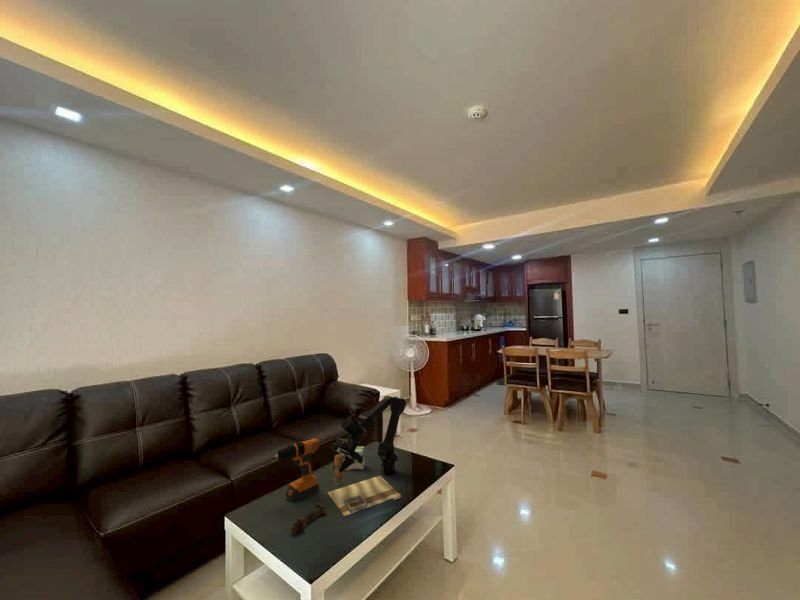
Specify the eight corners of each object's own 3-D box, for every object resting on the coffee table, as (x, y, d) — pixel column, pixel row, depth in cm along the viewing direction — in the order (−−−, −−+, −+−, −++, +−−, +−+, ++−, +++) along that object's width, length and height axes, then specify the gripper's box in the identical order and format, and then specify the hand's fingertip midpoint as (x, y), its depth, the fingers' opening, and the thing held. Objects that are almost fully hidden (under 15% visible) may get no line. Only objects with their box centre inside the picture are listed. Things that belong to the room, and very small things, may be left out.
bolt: (291, 538, 128) (320, 517, 140) (298, 536, 125) (327, 514, 138) (286, 523, 130) (316, 503, 142) (293, 521, 127) (322, 500, 139)
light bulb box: (364, 465, 183) (364, 446, 183) (362, 471, 176) (362, 451, 176) (346, 464, 184) (345, 445, 184) (342, 470, 177) (342, 450, 177)
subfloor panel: (379, 477, 169) (379, 472, 169) (401, 497, 151) (400, 491, 151) (327, 494, 154) (327, 489, 154) (344, 519, 136) (344, 512, 136)
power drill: (279, 511, 142) (278, 453, 143) (272, 503, 148) (271, 448, 148) (322, 491, 158) (322, 439, 158) (314, 485, 163) (314, 434, 163)
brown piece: (341, 478, 154) (341, 453, 154) (345, 483, 150) (345, 456, 151) (333, 481, 152) (332, 455, 152) (336, 486, 148) (336, 459, 148)
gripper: (333, 426, 161) (314, 456, 152) (358, 435, 148) (339, 469, 140) (346, 437, 166) (328, 467, 158) (371, 447, 154) (353, 480, 145)
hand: (336, 470), depth 150 cm, fingers closed on brown piece, 4 cm apart
